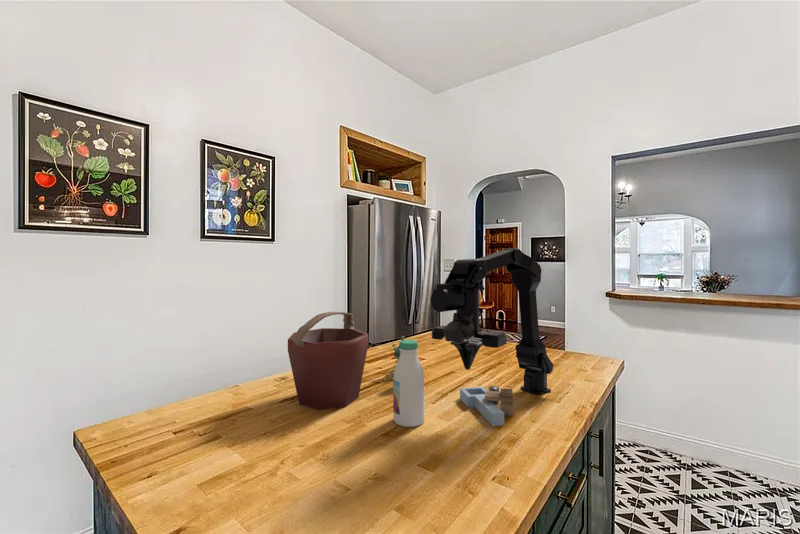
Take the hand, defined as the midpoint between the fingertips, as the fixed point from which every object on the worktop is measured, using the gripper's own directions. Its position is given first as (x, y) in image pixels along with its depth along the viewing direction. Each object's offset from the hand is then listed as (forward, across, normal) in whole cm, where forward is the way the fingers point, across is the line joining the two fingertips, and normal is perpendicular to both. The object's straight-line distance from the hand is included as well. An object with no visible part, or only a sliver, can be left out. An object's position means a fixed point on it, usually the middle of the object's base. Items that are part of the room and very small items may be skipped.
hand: (467, 369), depth 98 cm
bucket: (+12, -37, -14) cm, 41 cm away
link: (+12, +2, +6) cm, 13 cm away
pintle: (+12, +1, +13) cm, 17 cm away
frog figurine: (+12, -35, +18) cm, 41 cm away
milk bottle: (+12, -10, -12) cm, 20 cm away
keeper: (+12, +5, +7) cm, 15 cm away
